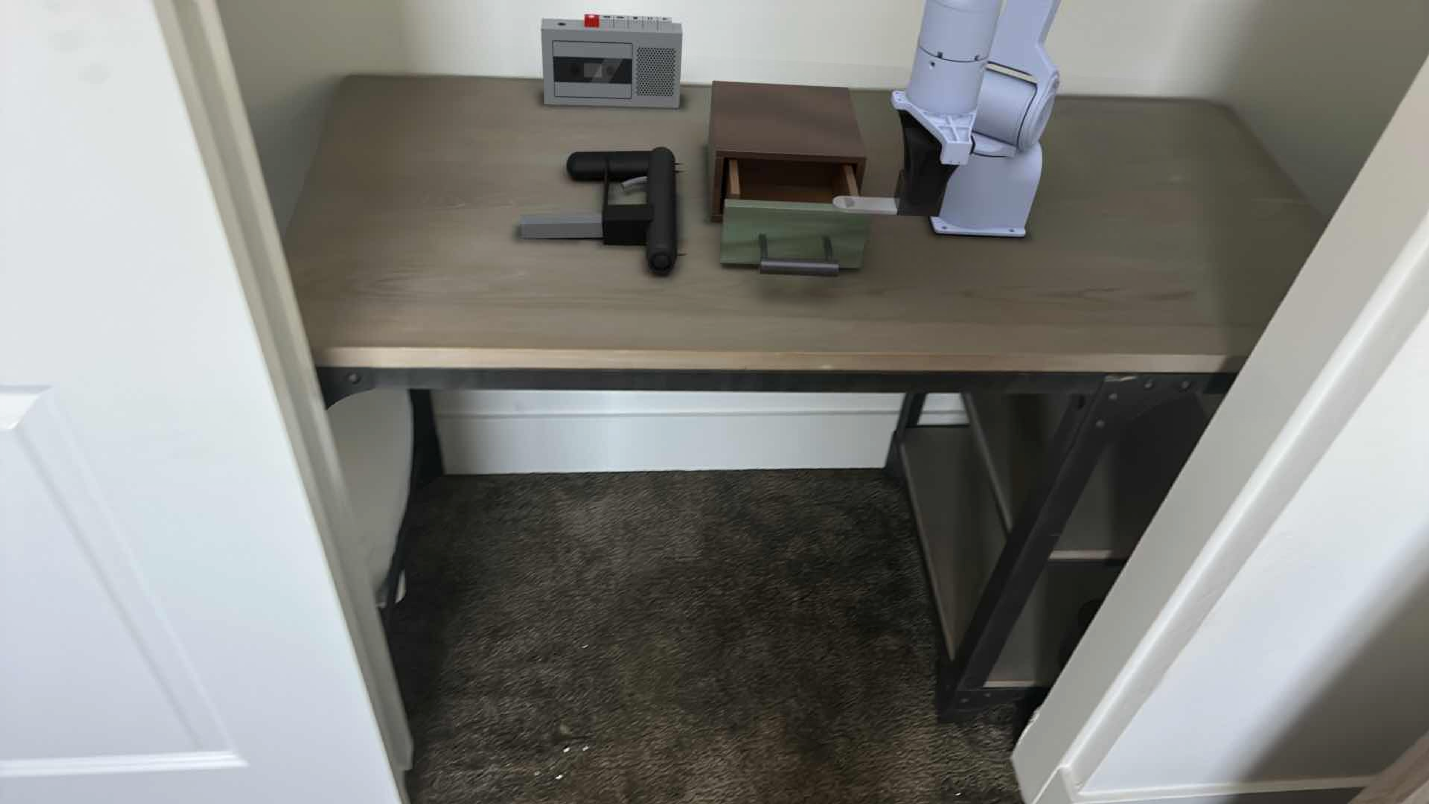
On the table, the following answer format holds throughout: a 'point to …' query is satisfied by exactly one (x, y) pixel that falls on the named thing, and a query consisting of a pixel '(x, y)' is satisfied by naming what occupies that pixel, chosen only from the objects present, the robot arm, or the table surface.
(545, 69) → the cassette player
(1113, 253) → the table surface
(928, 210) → the grey sheathed bar
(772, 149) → the cabinet
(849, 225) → the drawer
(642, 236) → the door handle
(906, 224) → the table surface
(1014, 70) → the robot arm
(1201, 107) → the table surface
